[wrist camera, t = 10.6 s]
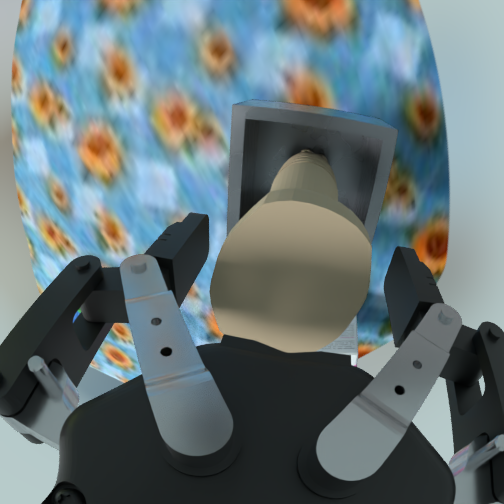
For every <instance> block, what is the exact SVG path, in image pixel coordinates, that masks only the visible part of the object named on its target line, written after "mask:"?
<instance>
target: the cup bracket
mask: <svg viewBox="0 0 504 504" xmlns="http://www.w3.org/2000/svg"><path fill="white" fill-rule="evenodd" d="M397 135H398V130H397V129H396V128H394V127H392V126H391V125H389V124H387V123H386V122H384V121H382V120H381V119H379V118H374V117H370V116H365V115H361V114H356V113H350V112H345V111H340V110H334V109H328V108H322V107H316V106H309V105H302V104H294V103H285V102H276V101H266V100H254V99H252V100H248V101H244V102H240V103H237V104H233V105H232V121H231V140H230V162H229V185H228V212H227V236H228V234H229V233H230V231H231V229H232V228H233V227H234V226H235V225H236V224H237V223H238V221H239V220H240V219H241V218H242V217H243V216H244V215H245V214H246V213H247V212H248V211H249V210H250V209H251V208H252V207H253V206H254V205H256V204H257V203H258V202H259V201H260V200H261V199H262V198H263V197H264V196H266V195H267V194H268V193H269V192H270V190H271V187H272V184H273V181H274V179H275V177H276V175H277V174H278V172H279V170H280V169H281V167H282V166H283V165H284V163H285V162H286V161H287V160H288V159H289V158H291V157H292V156H294V155H296V154H298V153H301V151H302V150H303V149H310V151H312V152H313V153H315V154H323V155H324V156H325V157H326V159H327V160H328V163H329V165H330V166H331V168H332V170H333V173H334V175H335V179H336V183H337V190H338V202H340V203H342V204H343V205H345V206H346V207H347V208H349V209H350V210H351V211H353V212H354V214H355V215H356V216H357V217H358V218H359V219H360V221H361V222H362V224H363V225H364V227H365V228H366V230H367V232H368V235H369V238H370V242H371V244H372V240H373V237H374V233H375V230H376V226H377V222H378V219H379V215H380V211H381V207H382V203H383V199H384V195H385V191H386V187H387V183H388V178H389V174H390V169H391V165H392V160H393V155H394V150H395V145H396V140H397Z"/></svg>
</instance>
